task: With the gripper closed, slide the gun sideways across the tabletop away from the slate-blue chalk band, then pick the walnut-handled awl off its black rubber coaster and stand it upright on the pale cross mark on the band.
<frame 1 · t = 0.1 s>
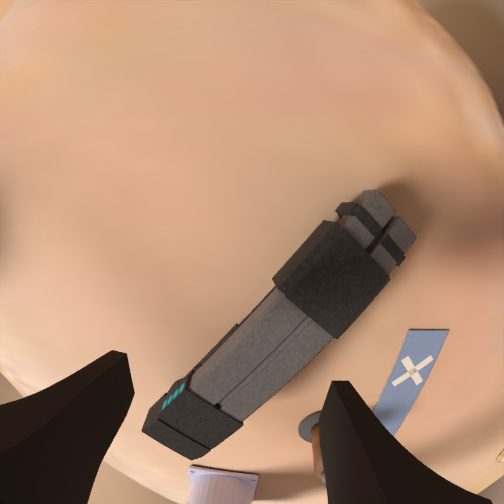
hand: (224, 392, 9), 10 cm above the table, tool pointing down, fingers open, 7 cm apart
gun: (263, 316, 20), on the table
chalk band: (395, 403, 21), on the table
awl: (326, 428, 22), resting on coaster
coaster: (325, 426, 23), on the table
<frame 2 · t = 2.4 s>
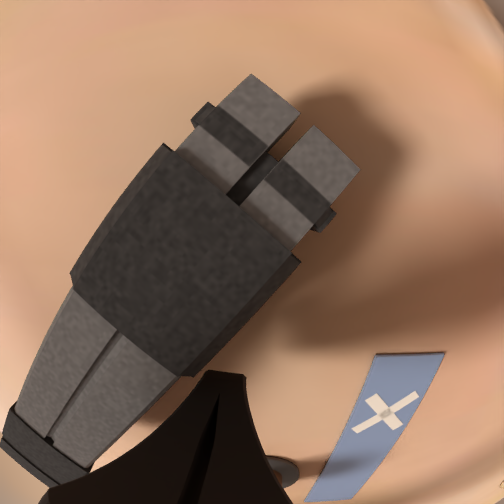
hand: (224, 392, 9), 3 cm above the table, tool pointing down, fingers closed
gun: (135, 322, 13), on the table, touching gripper
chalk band: (361, 451, 14), on the table
coaster: (261, 473, 15), on the table
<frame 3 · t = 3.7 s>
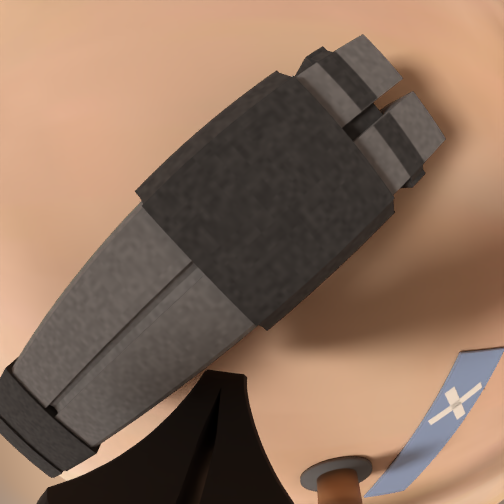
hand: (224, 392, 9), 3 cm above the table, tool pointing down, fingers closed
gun: (166, 280, 12), on the table
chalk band: (428, 442, 14), on the table
awl: (336, 477, 15), resting on coaster
coaster: (336, 474, 15), on the table
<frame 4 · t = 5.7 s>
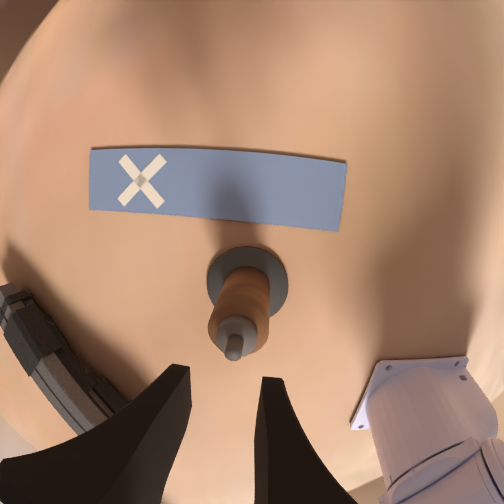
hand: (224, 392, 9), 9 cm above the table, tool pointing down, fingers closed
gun: (93, 367, 22), on the table
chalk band: (204, 183, 17), on the table
awl: (247, 287, 18), resting on coaster
coaster: (247, 285, 18), on the table
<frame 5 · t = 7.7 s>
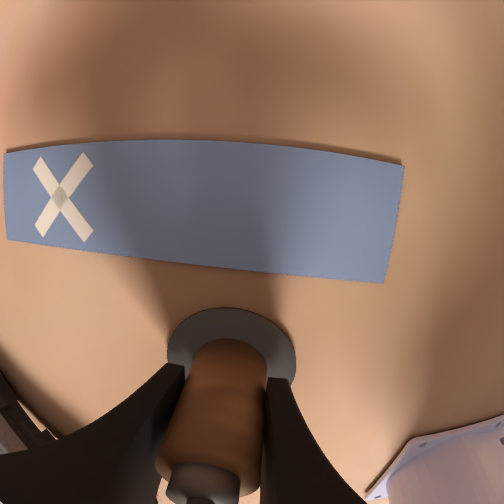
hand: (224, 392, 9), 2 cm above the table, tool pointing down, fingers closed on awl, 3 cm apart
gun: (51, 422, 15), on the table
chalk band: (152, 200, 9), on the table
awl: (230, 368, 11), resting on coaster, touching gripper
coaster: (231, 363, 11), on the table
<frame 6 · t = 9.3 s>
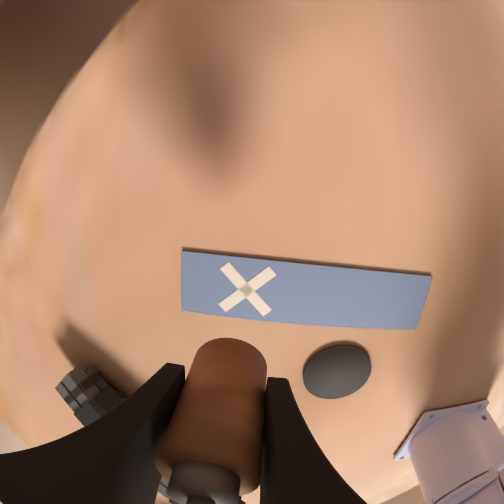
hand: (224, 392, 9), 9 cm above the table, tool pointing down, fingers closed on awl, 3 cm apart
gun: (167, 430, 23), on the table
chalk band: (312, 295, 18), on the table
awl: (230, 367, 11), point 7 cm above the table, touching gripper
coaster: (337, 372, 19), on the table
when the fingers open (2 cm above the table, at t = 10.8 s): awl stays where it is, resting on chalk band.
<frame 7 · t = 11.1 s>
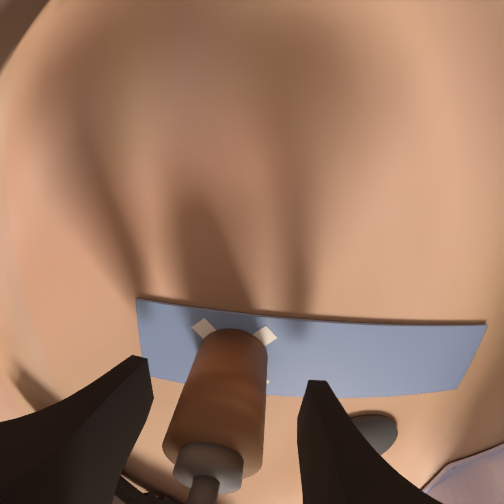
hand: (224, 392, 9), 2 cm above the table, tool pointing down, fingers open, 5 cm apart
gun: (148, 482, 17), on the table
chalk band: (329, 362, 11), on the table
awl: (232, 357, 11), resting on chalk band
coaster: (354, 442, 13), on the table
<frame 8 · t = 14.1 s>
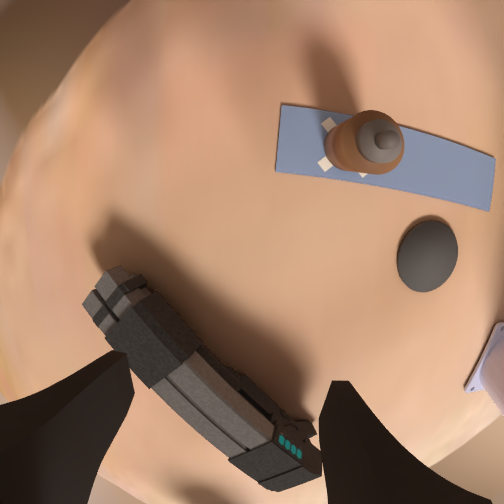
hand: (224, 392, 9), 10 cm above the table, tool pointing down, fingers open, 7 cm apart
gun: (222, 364, 21), on the table
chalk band: (405, 159, 16), on the table
awl: (347, 147, 16), resting on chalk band
coaster: (428, 256, 17), on the table
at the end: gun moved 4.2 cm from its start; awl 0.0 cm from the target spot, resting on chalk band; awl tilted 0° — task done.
